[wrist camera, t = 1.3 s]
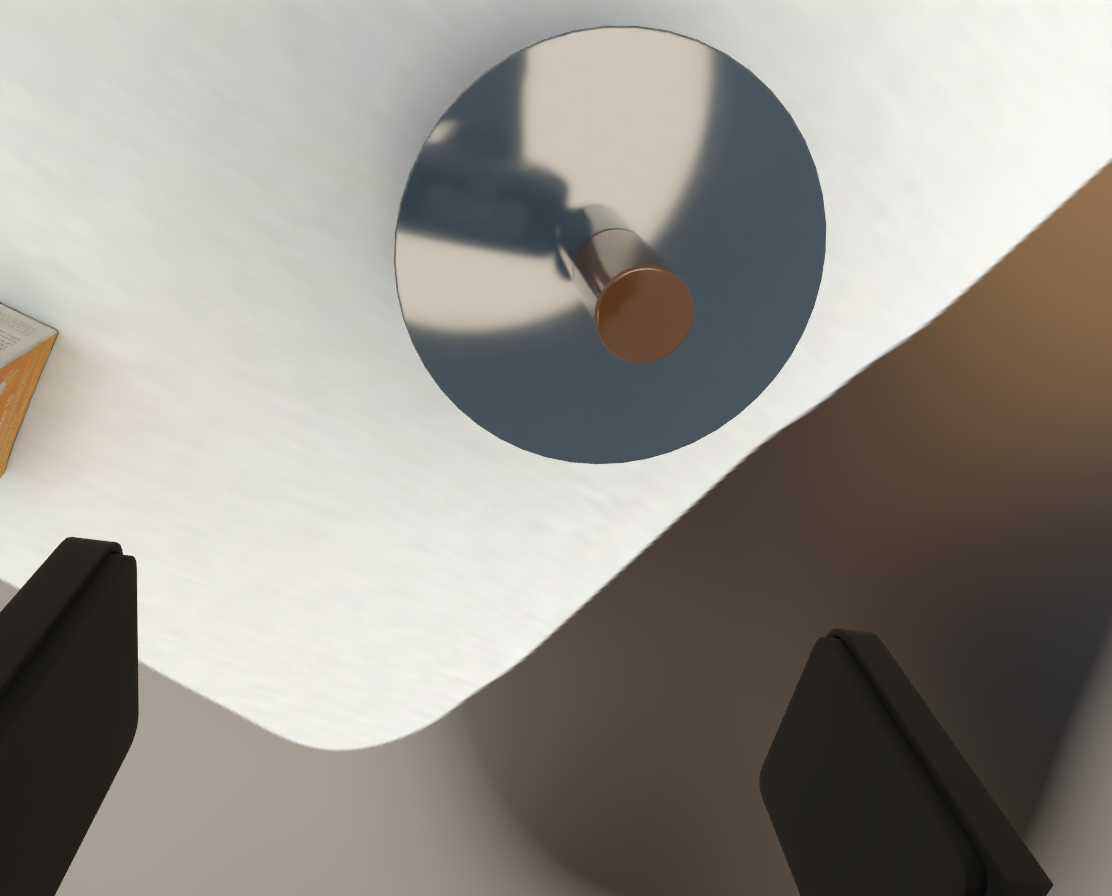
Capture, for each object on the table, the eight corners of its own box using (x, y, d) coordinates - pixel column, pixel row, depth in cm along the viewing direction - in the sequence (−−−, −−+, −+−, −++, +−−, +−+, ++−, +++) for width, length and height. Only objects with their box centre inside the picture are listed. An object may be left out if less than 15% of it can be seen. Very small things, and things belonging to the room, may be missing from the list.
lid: (425, -22, 22) (408, -52, 16) (872, 81, 24) (990, 85, 19) (377, 421, 28) (352, 511, 22) (743, 472, 30) (805, 565, 24)
